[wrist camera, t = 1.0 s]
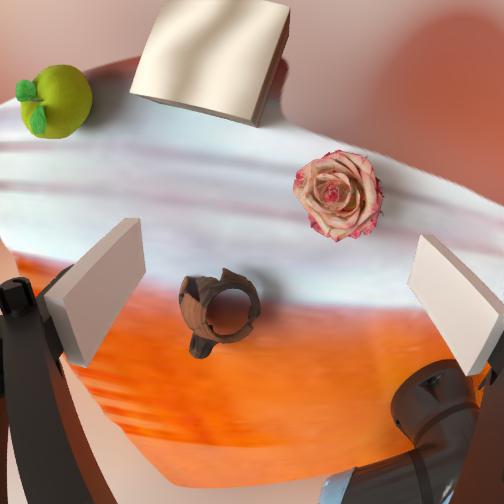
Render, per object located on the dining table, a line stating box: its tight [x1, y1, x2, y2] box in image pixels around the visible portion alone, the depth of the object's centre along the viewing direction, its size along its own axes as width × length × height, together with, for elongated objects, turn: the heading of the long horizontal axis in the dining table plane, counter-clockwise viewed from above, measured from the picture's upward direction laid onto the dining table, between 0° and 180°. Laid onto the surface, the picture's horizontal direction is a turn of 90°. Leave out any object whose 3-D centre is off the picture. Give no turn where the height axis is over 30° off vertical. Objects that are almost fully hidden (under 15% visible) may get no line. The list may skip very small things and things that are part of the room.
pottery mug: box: [179, 268, 261, 359], centre depth 37 cm, size 12×9×8 cm
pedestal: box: [129, 0, 290, 128], centre depth 27 cm, size 12×12×8 cm
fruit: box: [16, 65, 93, 139], centre depth 28 cm, size 9×9×10 cm
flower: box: [293, 150, 384, 242], centre depth 31 cm, size 10×9×8 cm
